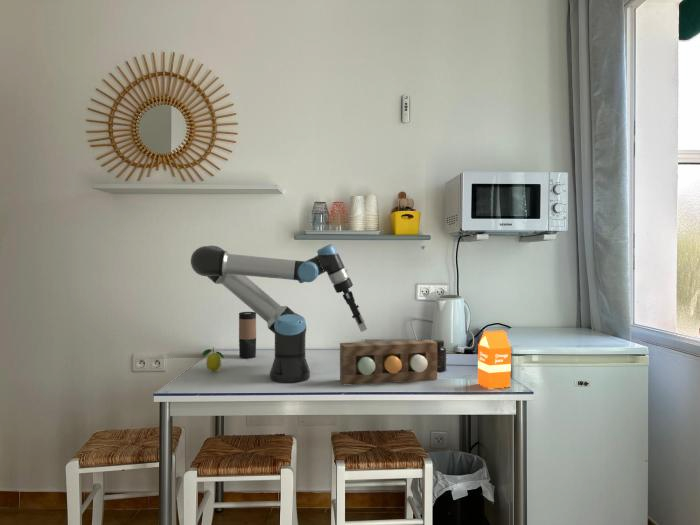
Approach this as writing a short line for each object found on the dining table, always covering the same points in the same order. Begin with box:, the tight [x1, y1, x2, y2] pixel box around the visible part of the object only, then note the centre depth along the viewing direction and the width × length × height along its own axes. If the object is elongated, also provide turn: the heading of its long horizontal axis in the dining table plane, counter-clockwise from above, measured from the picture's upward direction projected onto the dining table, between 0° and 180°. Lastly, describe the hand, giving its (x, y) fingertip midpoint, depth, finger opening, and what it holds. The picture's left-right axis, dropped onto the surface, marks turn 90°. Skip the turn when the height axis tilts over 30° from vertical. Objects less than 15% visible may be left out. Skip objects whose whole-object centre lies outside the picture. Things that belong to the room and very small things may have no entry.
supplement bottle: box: [432, 339, 447, 373], centre depth 209 cm, size 7×7×12 cm
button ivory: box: [410, 354, 428, 372], centre depth 191 cm, size 6×3×6 cm, turn 103°
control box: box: [339, 339, 438, 385], centre depth 193 cm, size 36×7×14 cm, turn 103°
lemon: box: [201, 346, 225, 373], centre depth 204 cm, size 7×6×10 cm
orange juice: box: [477, 330, 512, 390], centre depth 186 cm, size 8×9×20 cm
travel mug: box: [238, 311, 257, 360], centre depth 231 cm, size 8×8×20 cm
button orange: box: [384, 355, 402, 374], centre depth 188 cm, size 6×3×6 cm, turn 103°
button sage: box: [357, 357, 375, 375], centre depth 186 cm, size 6×3×6 cm, turn 103°
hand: (362, 326), depth 212 cm, fingers open, 13 cm apart
